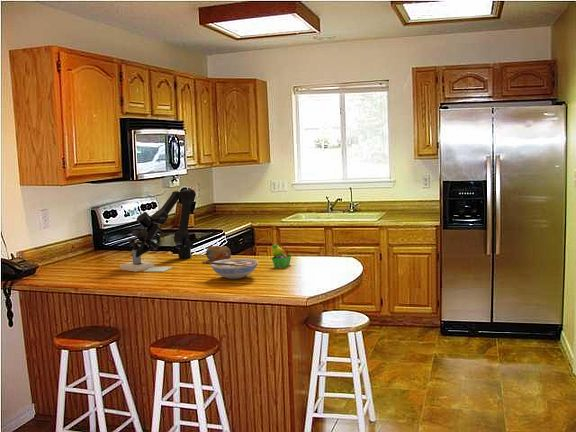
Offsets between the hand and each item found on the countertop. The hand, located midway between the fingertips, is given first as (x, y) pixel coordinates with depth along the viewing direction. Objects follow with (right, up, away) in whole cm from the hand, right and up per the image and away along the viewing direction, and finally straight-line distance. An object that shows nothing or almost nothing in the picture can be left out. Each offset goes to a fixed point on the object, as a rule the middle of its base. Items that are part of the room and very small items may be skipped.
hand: (134, 256), depth 330 cm
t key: (+1, -6, +2) cm, 7 cm away
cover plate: (+1, -6, +2) cm, 7 cm away
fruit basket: (+77, -5, -7) cm, 78 cm away
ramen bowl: (+56, -8, -32) cm, 65 cm away
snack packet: (+43, -4, +14) cm, 46 cm away
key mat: (+14, -7, -4) cm, 16 cm away
